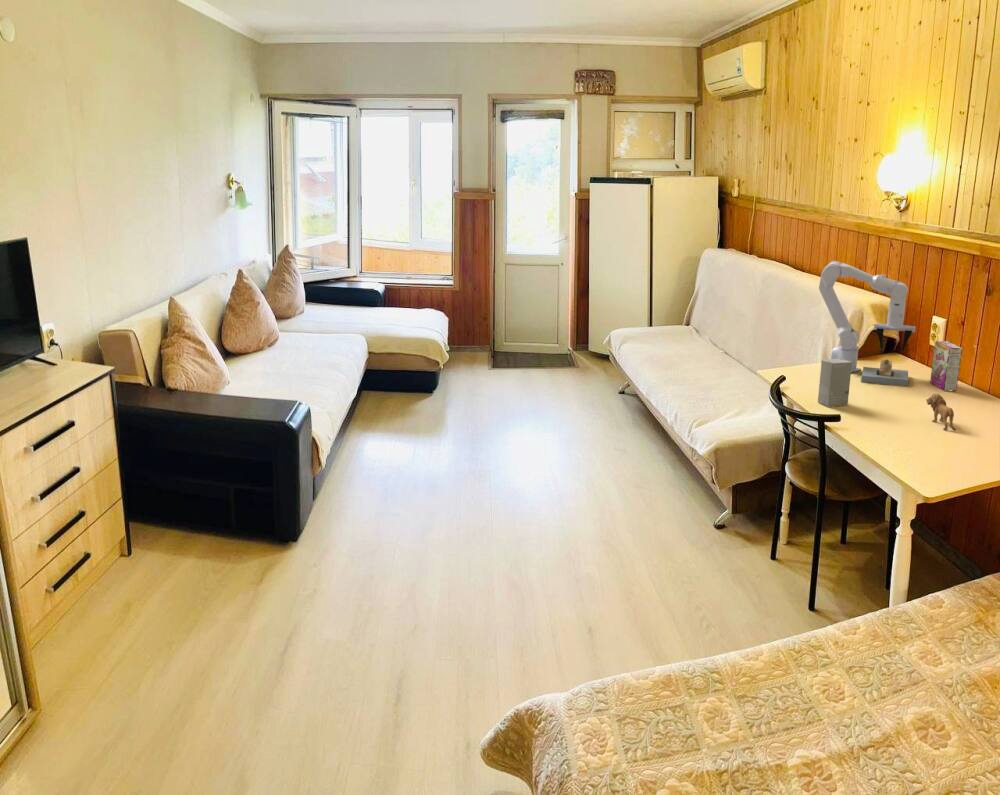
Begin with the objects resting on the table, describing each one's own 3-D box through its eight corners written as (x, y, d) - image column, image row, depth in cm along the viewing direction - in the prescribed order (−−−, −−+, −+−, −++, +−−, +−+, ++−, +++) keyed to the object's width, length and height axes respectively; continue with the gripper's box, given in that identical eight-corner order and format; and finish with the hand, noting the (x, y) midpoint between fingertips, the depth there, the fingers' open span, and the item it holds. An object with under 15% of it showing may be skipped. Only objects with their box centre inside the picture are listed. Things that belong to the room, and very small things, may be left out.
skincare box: (828, 407, 290) (832, 363, 285) (815, 401, 296) (819, 358, 291) (849, 405, 292) (854, 361, 287) (836, 399, 298) (840, 356, 294)
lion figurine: (921, 418, 277) (924, 392, 275) (936, 417, 278) (940, 391, 275) (947, 432, 263) (951, 405, 261) (963, 431, 264) (968, 404, 261)
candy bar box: (928, 383, 316) (934, 340, 311) (942, 382, 315) (948, 340, 311) (943, 391, 305) (949, 348, 300) (957, 391, 305) (963, 347, 300)
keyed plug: (878, 381, 319) (880, 362, 317) (878, 377, 324) (881, 358, 322) (889, 382, 318) (892, 363, 316) (890, 378, 323) (892, 359, 321)
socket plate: (861, 382, 319) (861, 375, 318) (862, 372, 331) (863, 366, 330) (907, 386, 312) (908, 379, 311) (907, 376, 324) (908, 370, 323)
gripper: (875, 315, 320) (871, 349, 324) (917, 317, 314) (912, 352, 319) (875, 311, 327) (872, 345, 331) (916, 314, 321) (912, 348, 325)
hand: (891, 348), depth 325 cm, fingers open, 7 cm apart
